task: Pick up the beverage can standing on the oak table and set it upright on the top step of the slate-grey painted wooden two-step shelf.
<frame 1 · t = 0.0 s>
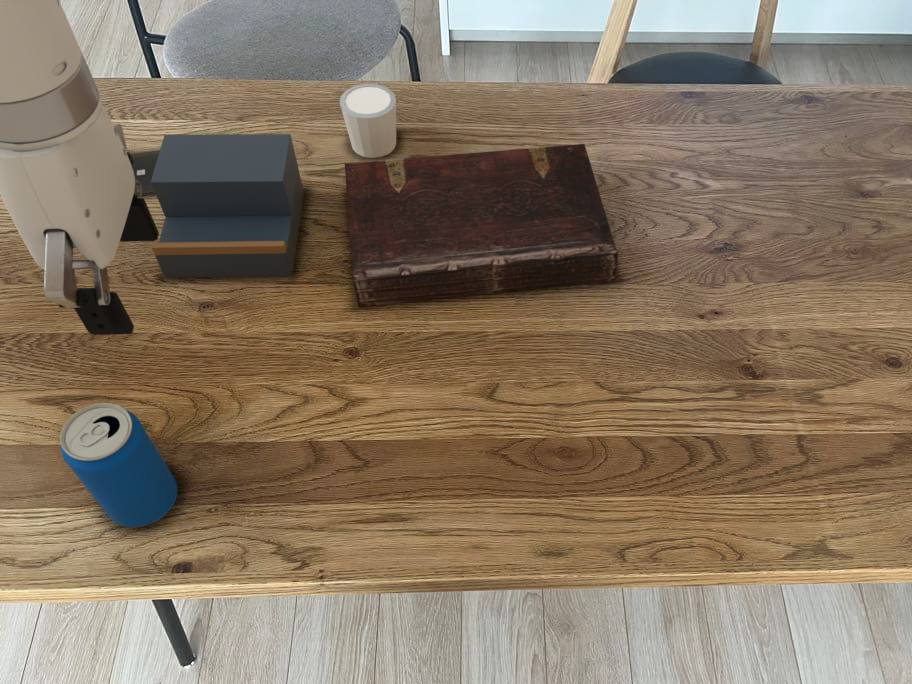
hand: (126, 283, 67), 22 cm above the table, tool pointing down, fingers open, 9 cm apart
white cylinder: (374, 147, 112), on the table
step shelf: (238, 235, 102), on the table
beverage can: (144, 501, 82), on the table
smartphone: (133, 179, 106), on the table
hardback book: (477, 240, 103), on the table
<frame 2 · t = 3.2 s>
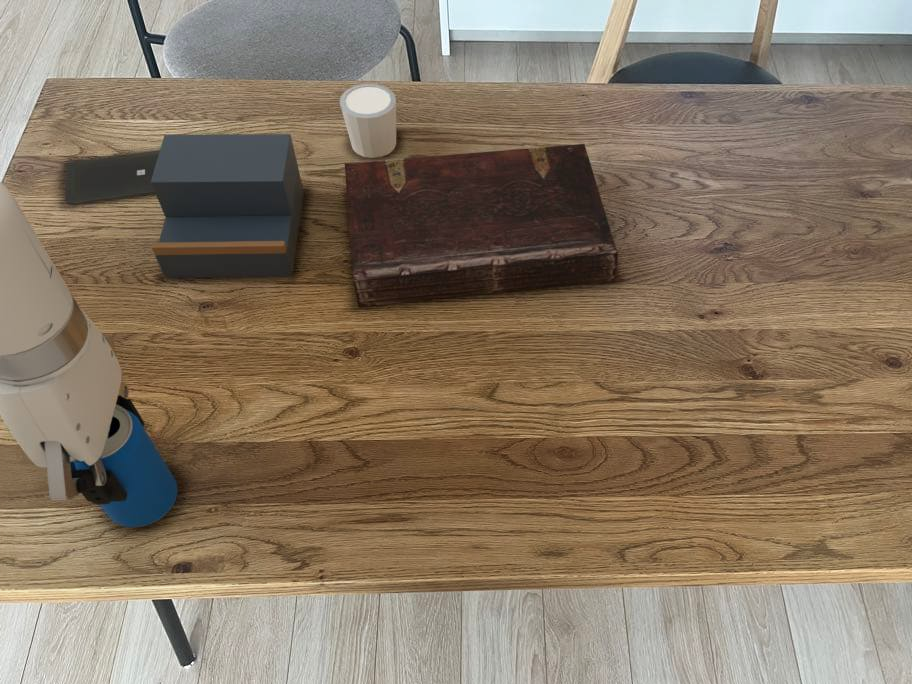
hand: (117, 461, 76), 7 cm above the table, tool pointing down, fingers closed on beverage can, 6 cm apart
beverage can: (145, 501, 82), on the table, touching gripper
everything else where it was.
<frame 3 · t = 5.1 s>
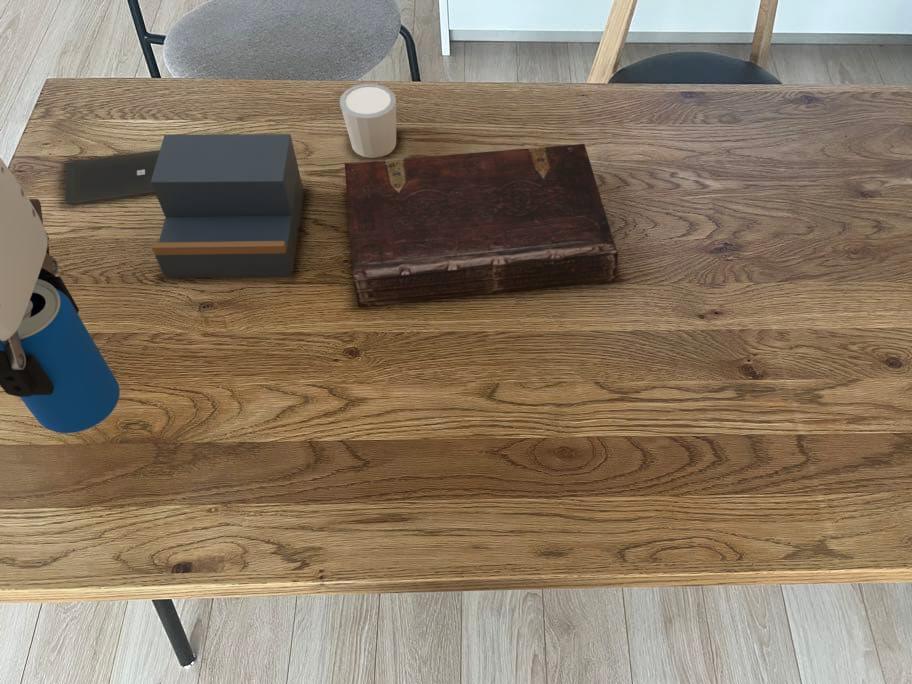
hand: (44, 350, 64), 22 cm above the table, tool pointing down, fingers closed on beverage can, 6 cm apart
beverage can: (81, 406, 70), point 14 cm above the table, touching gripper
everything else where it was.
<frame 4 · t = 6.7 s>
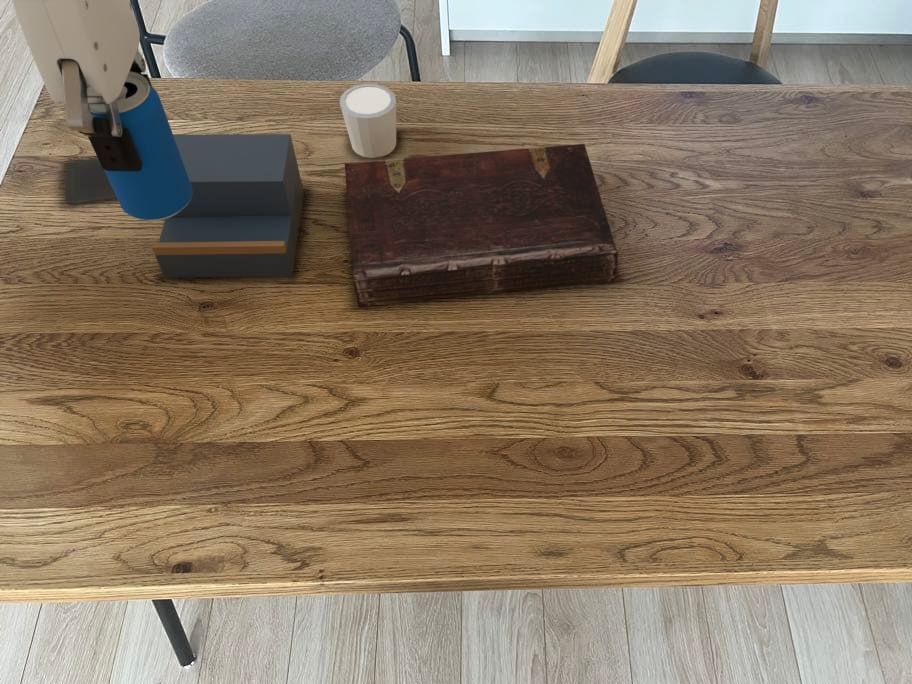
hand: (133, 139, 75), 23 cm above the table, tool pointing down, fingers closed on beverage can, 6 cm apart
beverage can: (159, 203, 81), point 16 cm above the table, touching gripper
everything else where it was.
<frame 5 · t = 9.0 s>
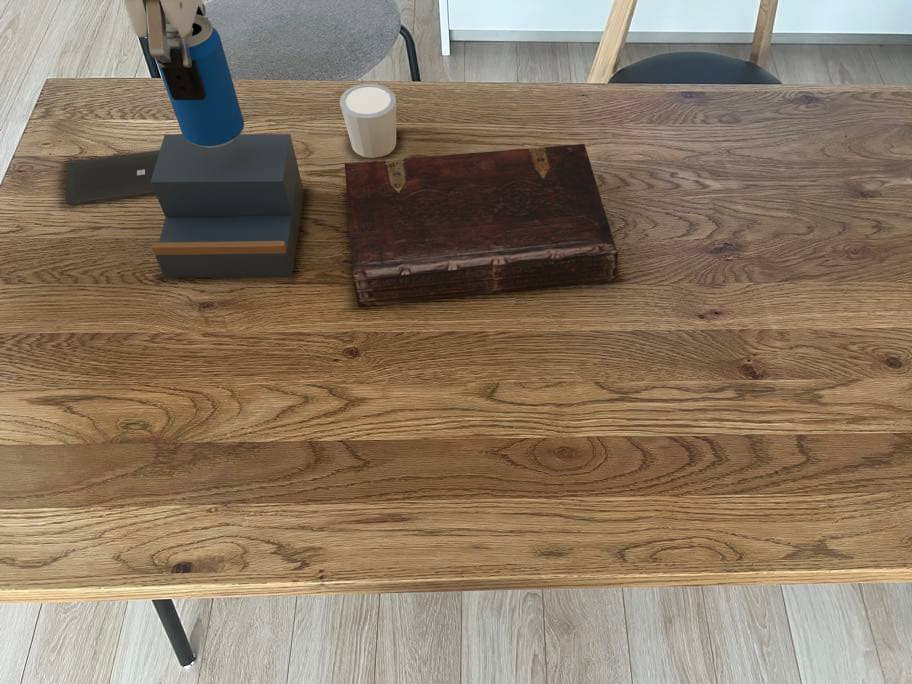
hand: (195, 74, 88), 19 cm above the table, tool pointing down, fingers closed on beverage can, 6 cm apart
beverage can: (215, 134, 94), point 12 cm above the table, touching gripper
everything else where it was.
when the fingers open (16 cm above the table, at t = 10.5 s): beverage can stays where it is, resting on step shelf.
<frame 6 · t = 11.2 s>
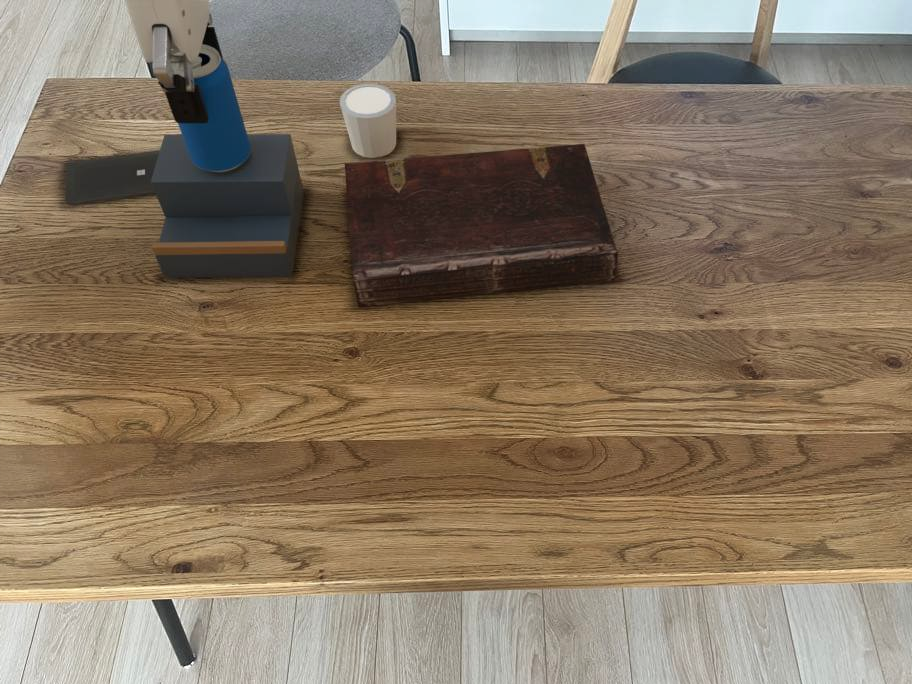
hand: (200, 91, 89), 17 cm above the table, tool pointing down, fingers open, 9 cm apart
beverage can: (222, 158, 96), point 9 cm above the table, touching step shelf
everything else where it was.
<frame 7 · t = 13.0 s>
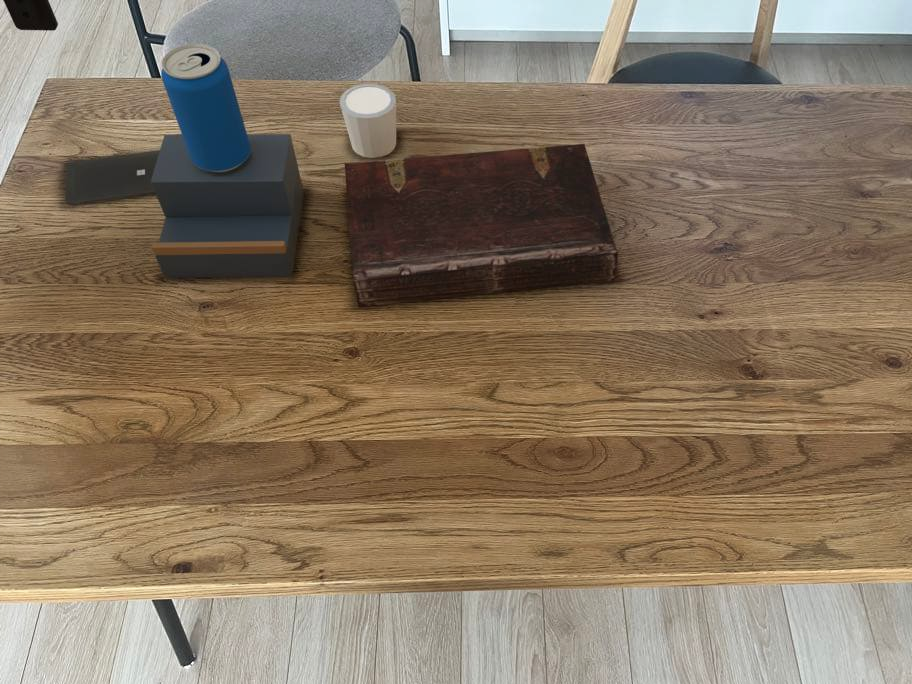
nothing on the table moved.
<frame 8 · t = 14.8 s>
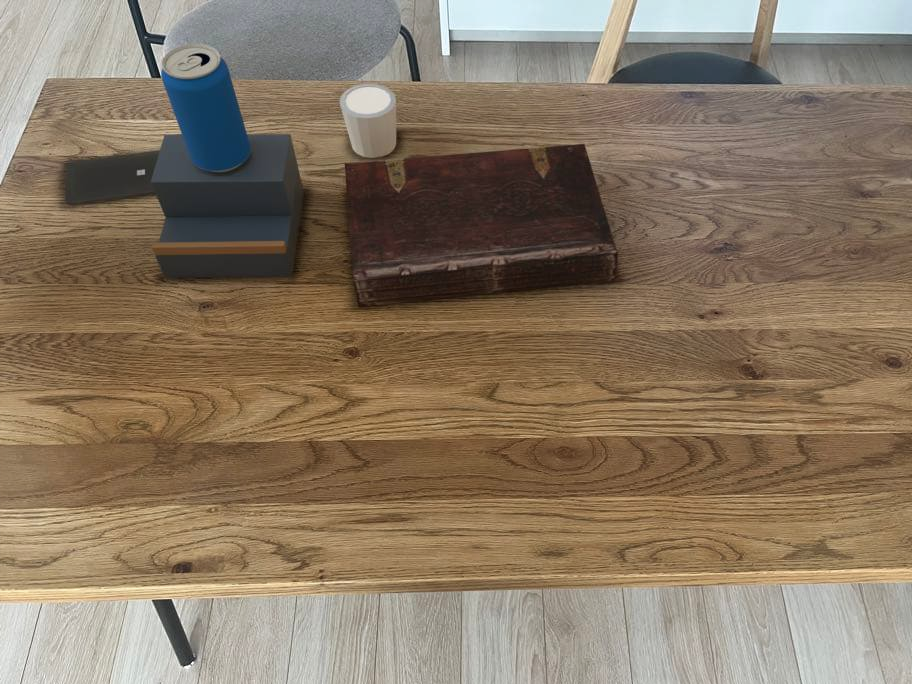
nothing on the table moved.
at the end: beverage can inside the target area on the step shelf (0.2 cm from its centre), point 8.8 cm above the step shelf's base; beverage can tilted 0°; the gripper is holding nothing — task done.
